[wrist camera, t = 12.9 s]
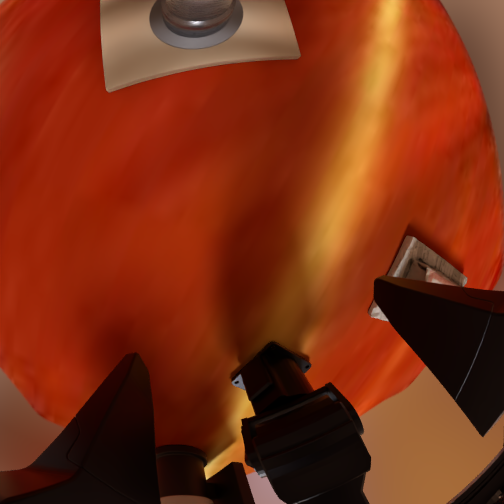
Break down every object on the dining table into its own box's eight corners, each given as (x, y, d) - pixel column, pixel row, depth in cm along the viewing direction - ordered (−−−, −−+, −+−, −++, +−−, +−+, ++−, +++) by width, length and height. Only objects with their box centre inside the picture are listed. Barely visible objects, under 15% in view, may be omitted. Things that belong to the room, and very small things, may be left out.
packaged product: (483, 286, 28) (451, 345, 30) (461, 274, 32) (432, 330, 34) (435, 244, 22) (388, 334, 24) (403, 231, 26) (363, 311, 28)
